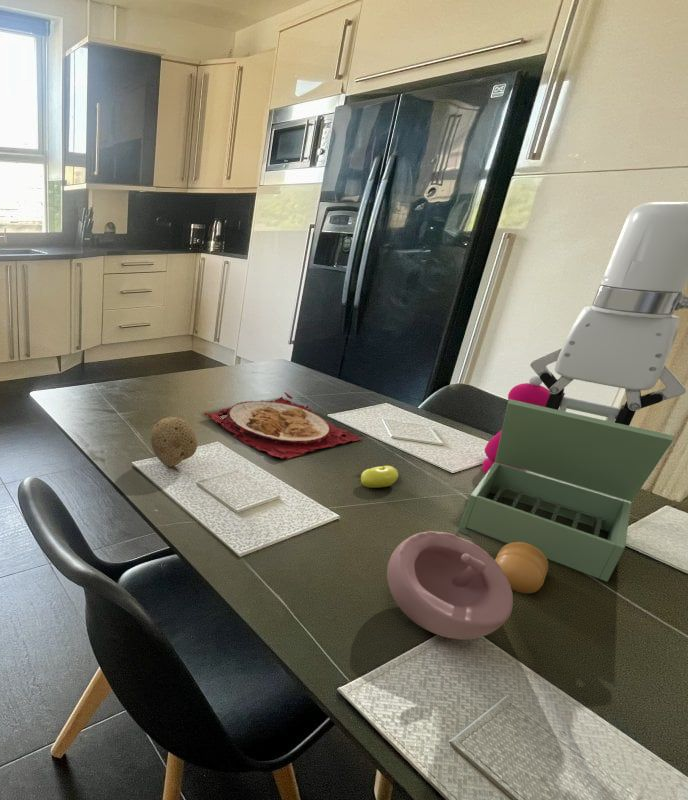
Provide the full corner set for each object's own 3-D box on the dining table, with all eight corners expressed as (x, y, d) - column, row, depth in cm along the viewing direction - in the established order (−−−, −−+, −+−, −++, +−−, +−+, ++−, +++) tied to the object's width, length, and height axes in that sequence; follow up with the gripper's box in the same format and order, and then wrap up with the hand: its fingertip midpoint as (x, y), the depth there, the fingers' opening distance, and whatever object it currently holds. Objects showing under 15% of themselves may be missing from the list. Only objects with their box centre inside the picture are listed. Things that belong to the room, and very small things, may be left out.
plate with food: (202, 419, 117) (203, 406, 116) (281, 401, 127) (283, 389, 126) (275, 464, 98) (278, 449, 96) (362, 439, 108) (365, 425, 106)
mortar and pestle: (401, 655, 55) (428, 575, 51) (362, 581, 66) (382, 510, 62) (518, 671, 53) (556, 589, 49) (459, 592, 64) (485, 520, 60)
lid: (673, 440, 61) (684, 410, 63) (507, 403, 73) (519, 378, 74) (632, 501, 73) (642, 475, 74) (495, 460, 84) (505, 438, 86)
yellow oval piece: (351, 482, 91) (356, 464, 89) (385, 476, 93) (390, 458, 91) (369, 494, 87) (374, 475, 85) (404, 488, 89) (410, 469, 88)
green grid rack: (588, 572, 67) (596, 556, 66) (475, 528, 76) (480, 514, 75) (598, 533, 76) (605, 518, 75) (494, 498, 85) (499, 484, 84)
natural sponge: (180, 451, 101) (184, 407, 98) (203, 471, 94) (209, 424, 90) (141, 457, 98) (144, 412, 95) (162, 479, 91) (166, 431, 87)
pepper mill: (483, 460, 99) (516, 367, 92) (529, 475, 94) (568, 377, 87) (473, 471, 95) (507, 375, 88) (520, 487, 90) (560, 385, 82)
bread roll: (532, 609, 62) (547, 577, 60) (482, 587, 65) (494, 556, 64) (543, 578, 67) (557, 547, 65) (497, 559, 71) (508, 529, 69)
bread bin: (603, 589, 65) (624, 548, 63) (457, 531, 77) (470, 494, 74) (613, 539, 76) (631, 502, 73) (482, 494, 87) (495, 461, 85)
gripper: (735, 308, 61) (669, 438, 67) (552, 291, 73) (512, 402, 79) (739, 316, 56) (668, 454, 63) (543, 296, 68) (501, 413, 75)
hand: (581, 424), depth 71 cm, fingers closed on lid, 6 cm apart
